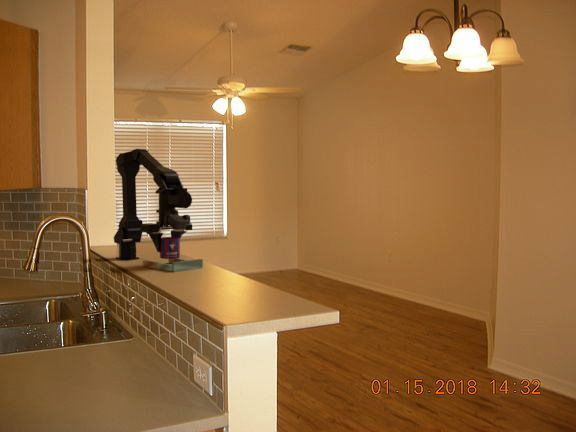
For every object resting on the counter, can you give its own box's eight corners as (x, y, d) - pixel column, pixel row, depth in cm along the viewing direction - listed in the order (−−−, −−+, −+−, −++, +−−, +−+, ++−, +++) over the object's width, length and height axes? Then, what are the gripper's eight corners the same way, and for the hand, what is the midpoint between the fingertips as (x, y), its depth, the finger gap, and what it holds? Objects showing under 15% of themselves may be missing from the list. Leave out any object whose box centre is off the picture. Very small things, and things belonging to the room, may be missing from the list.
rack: (142, 266, 196) (142, 257, 196) (171, 262, 205) (171, 254, 205) (174, 272, 185) (174, 262, 185) (202, 267, 194) (202, 259, 194)
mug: (162, 259, 191) (162, 239, 191) (155, 255, 200) (155, 236, 200) (181, 258, 194) (181, 238, 194) (174, 254, 203) (174, 235, 203)
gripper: (159, 208, 183) (159, 256, 185) (202, 207, 198) (202, 251, 199) (139, 207, 191) (139, 253, 192) (182, 206, 205) (182, 248, 206)
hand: (166, 251), depth 197 cm, fingers closed on mug, 6 cm apart
